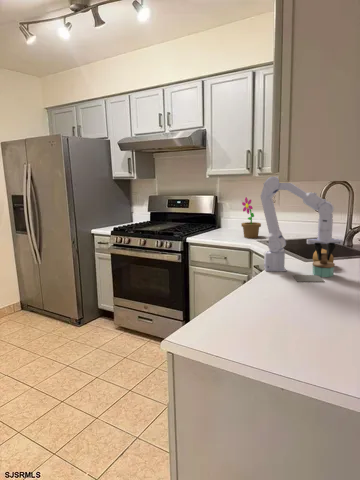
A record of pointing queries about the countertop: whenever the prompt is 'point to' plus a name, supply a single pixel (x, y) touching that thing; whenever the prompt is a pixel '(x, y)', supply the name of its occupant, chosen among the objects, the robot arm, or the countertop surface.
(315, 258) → the potato
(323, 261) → the lid
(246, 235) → the flowerpot
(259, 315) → the countertop surface
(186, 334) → the countertop surface
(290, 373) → the countertop surface
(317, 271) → the bowl
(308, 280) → the mat
